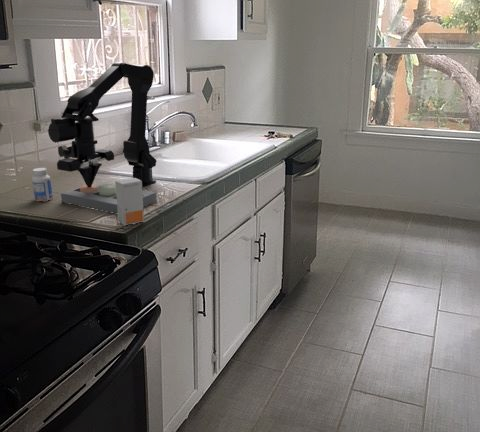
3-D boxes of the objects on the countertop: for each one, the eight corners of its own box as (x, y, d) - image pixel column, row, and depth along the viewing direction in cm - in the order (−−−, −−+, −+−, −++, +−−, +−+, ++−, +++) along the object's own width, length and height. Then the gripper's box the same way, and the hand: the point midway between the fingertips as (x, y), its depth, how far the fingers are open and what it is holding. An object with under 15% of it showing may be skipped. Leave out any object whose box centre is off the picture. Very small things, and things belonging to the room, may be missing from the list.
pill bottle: (47, 195, 171) (43, 166, 168) (56, 198, 168) (52, 168, 164) (31, 199, 167) (27, 169, 164) (40, 203, 164) (36, 172, 160)
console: (97, 190, 176) (96, 181, 175) (156, 201, 164) (155, 192, 163) (61, 202, 164) (60, 193, 163) (123, 215, 152) (122, 205, 151)
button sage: (108, 193, 167) (107, 183, 166) (121, 195, 164) (121, 185, 163) (95, 197, 163) (94, 187, 161) (109, 200, 160) (108, 190, 159)
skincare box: (124, 227, 143) (121, 184, 139) (118, 222, 146) (114, 180, 142) (145, 222, 147) (142, 180, 143) (138, 218, 150) (135, 177, 146)
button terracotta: (90, 193, 171) (89, 183, 170) (103, 195, 169) (102, 185, 168) (77, 197, 167) (76, 187, 166) (90, 200, 164) (89, 190, 163)
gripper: (87, 130, 173) (92, 176, 178) (41, 140, 158) (47, 190, 163) (113, 133, 168) (117, 181, 173) (67, 143, 153) (73, 195, 158)
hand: (89, 186), depth 167 cm, fingers closed, pressing on button terracotta
